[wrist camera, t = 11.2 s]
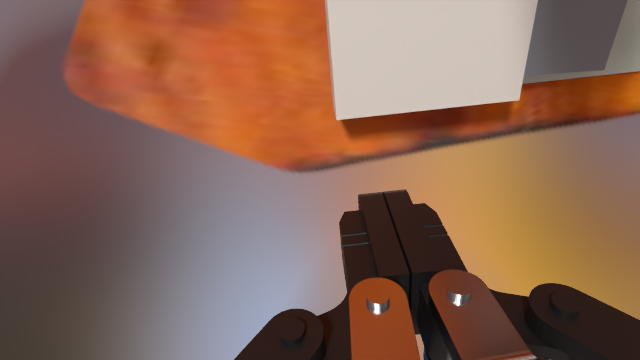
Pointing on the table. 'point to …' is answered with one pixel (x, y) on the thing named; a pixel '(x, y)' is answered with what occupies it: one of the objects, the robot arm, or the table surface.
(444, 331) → the robot arm
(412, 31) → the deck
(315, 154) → the table surface
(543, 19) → the grey block
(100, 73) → the table surface
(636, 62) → the mat
